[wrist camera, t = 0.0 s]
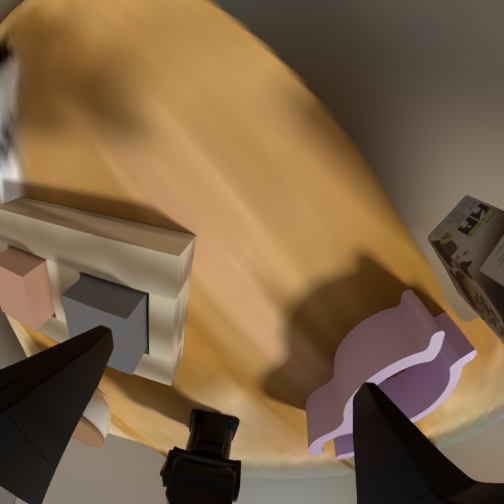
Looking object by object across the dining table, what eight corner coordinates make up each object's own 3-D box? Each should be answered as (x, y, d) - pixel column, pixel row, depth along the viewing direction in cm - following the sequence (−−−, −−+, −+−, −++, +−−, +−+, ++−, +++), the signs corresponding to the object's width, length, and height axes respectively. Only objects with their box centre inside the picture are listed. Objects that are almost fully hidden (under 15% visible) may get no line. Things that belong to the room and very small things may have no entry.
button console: (182, 356, 28) (170, 385, 23) (34, 300, 27) (14, 317, 23) (196, 235, 22) (179, 256, 18) (22, 196, 22) (-6, 207, 18)
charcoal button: (148, 345, 23) (131, 375, 19) (94, 325, 23) (73, 351, 19) (148, 291, 20) (126, 319, 17) (87, 272, 20) (61, 294, 17)
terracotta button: (57, 310, 23) (35, 331, 19) (23, 293, 22) (1, 310, 19) (49, 258, 20) (22, 277, 17) (14, 245, 20) (-11, 260, 17)
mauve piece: (355, 422, 31) (362, 461, 25) (280, 403, 30) (280, 449, 24) (457, 319, 24) (486, 356, 18) (390, 276, 23) (422, 319, 16)
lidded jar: (126, 420, 35) (107, 463, 27) (76, 401, 36) (54, 437, 27) (111, 381, 31) (83, 430, 23) (56, 360, 32) (26, 399, 23)
